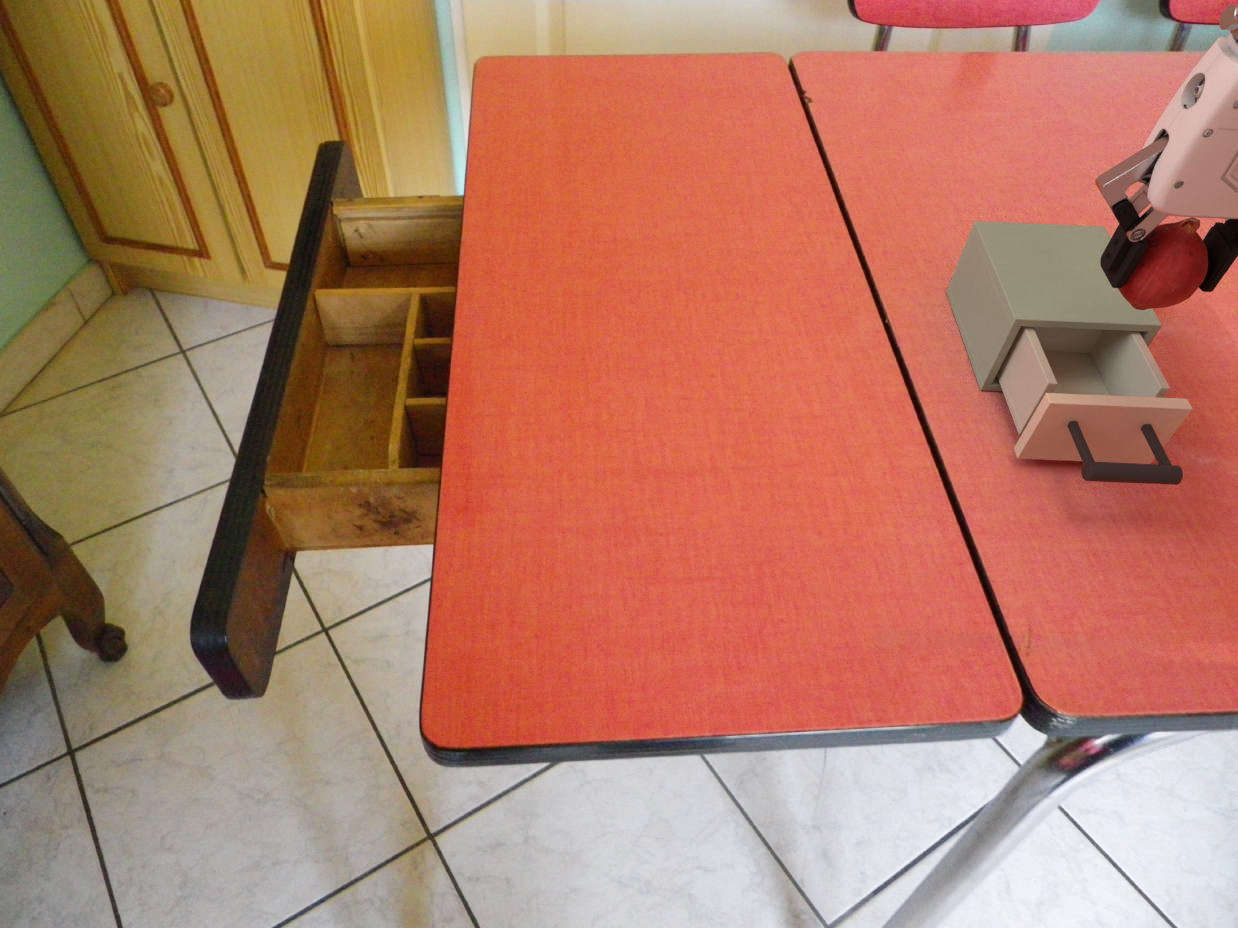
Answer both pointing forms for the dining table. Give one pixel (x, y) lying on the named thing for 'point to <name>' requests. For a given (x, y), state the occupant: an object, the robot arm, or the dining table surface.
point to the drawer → (1092, 403)
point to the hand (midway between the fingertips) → (1155, 276)
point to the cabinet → (1034, 289)
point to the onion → (1168, 267)
